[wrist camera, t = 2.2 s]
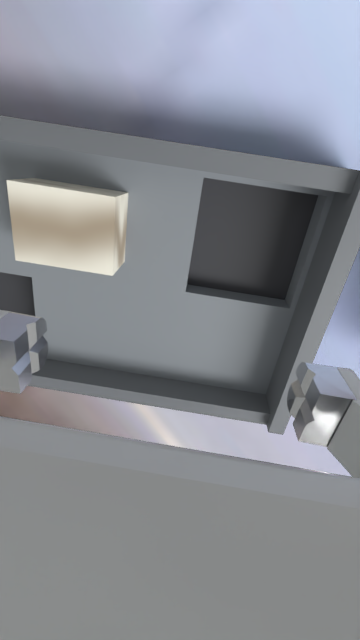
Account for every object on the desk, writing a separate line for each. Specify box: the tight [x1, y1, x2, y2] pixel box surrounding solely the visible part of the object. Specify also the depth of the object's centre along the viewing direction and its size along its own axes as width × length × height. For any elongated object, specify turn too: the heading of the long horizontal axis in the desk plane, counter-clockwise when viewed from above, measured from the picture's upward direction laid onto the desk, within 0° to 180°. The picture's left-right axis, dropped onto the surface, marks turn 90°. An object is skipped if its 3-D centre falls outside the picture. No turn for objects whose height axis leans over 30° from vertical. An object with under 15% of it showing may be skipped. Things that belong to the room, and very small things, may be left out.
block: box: [6, 178, 128, 276], centre depth 25 cm, size 6×8×4 cm
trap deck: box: [0, 115, 360, 435], centre depth 29 cm, size 24×54×6 cm, turn 82°
